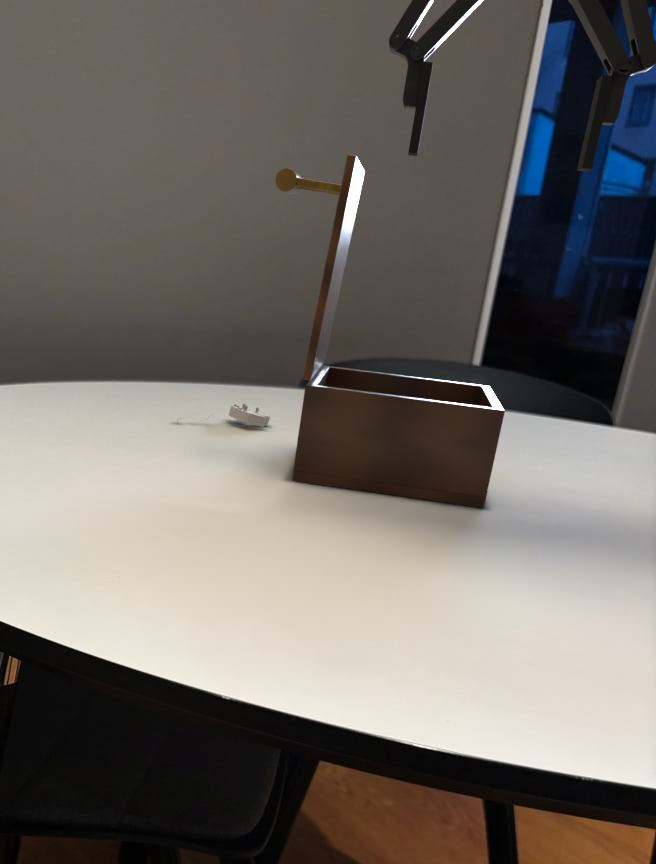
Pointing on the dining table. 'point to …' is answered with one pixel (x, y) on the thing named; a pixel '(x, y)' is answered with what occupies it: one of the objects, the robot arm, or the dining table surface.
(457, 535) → the dining table surface
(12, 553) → the dining table surface
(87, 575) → the dining table surface
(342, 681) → the dining table surface
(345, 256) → the lid
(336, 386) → the chest
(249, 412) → the game controller
